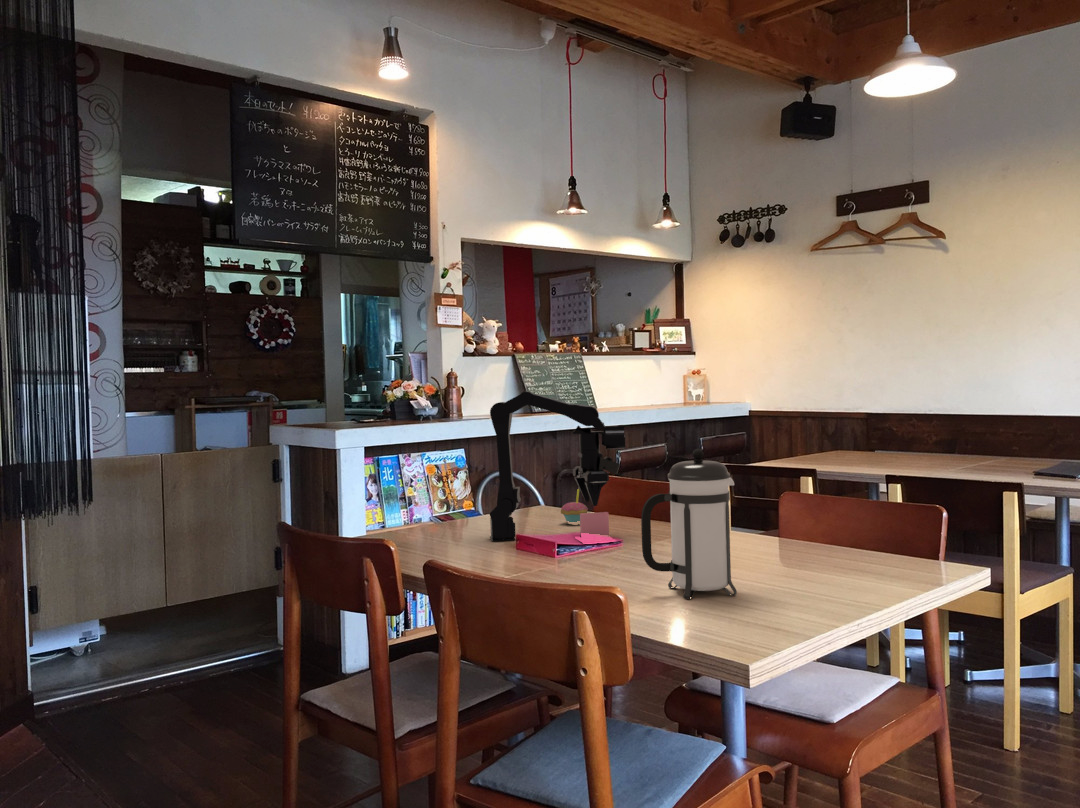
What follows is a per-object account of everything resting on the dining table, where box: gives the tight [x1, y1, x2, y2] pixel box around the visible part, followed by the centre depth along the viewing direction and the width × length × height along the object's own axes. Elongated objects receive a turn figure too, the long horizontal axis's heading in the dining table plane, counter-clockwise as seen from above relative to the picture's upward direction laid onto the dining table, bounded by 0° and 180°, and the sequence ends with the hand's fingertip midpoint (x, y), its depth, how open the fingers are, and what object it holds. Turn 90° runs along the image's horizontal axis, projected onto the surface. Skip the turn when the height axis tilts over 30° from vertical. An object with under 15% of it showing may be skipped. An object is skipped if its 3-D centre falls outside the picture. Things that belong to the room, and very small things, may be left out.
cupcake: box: [560, 487, 589, 522], centre depth 267 cm, size 9×8×12 cm
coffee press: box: [640, 448, 738, 600], centre depth 176 cm, size 17×16×30 cm
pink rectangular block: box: [579, 511, 610, 536], centre depth 241 cm, size 8×2×7 cm, turn 102°
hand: (591, 503), depth 242 cm, fingers open, 9 cm apart
